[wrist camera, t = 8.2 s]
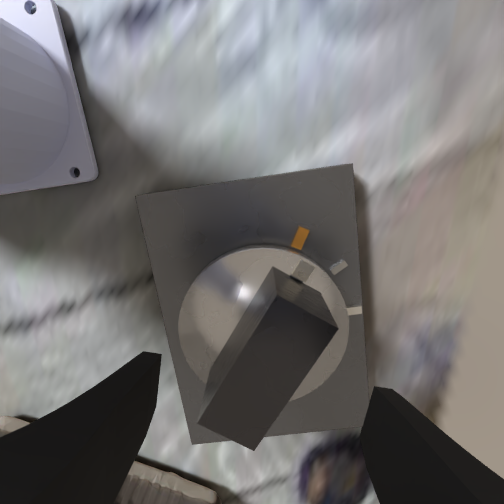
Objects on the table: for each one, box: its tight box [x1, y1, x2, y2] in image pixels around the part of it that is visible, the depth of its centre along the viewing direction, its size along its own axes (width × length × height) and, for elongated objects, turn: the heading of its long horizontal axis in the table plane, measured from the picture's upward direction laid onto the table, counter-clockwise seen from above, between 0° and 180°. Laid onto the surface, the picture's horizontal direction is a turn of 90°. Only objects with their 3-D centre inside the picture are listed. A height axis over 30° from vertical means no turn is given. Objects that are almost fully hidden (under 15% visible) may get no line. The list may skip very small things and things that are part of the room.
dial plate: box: [135, 164, 369, 445], centre depth 17 cm, size 10×14×2 cm
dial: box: [178, 245, 349, 451], centre depth 14 cm, size 8×8×4 cm
